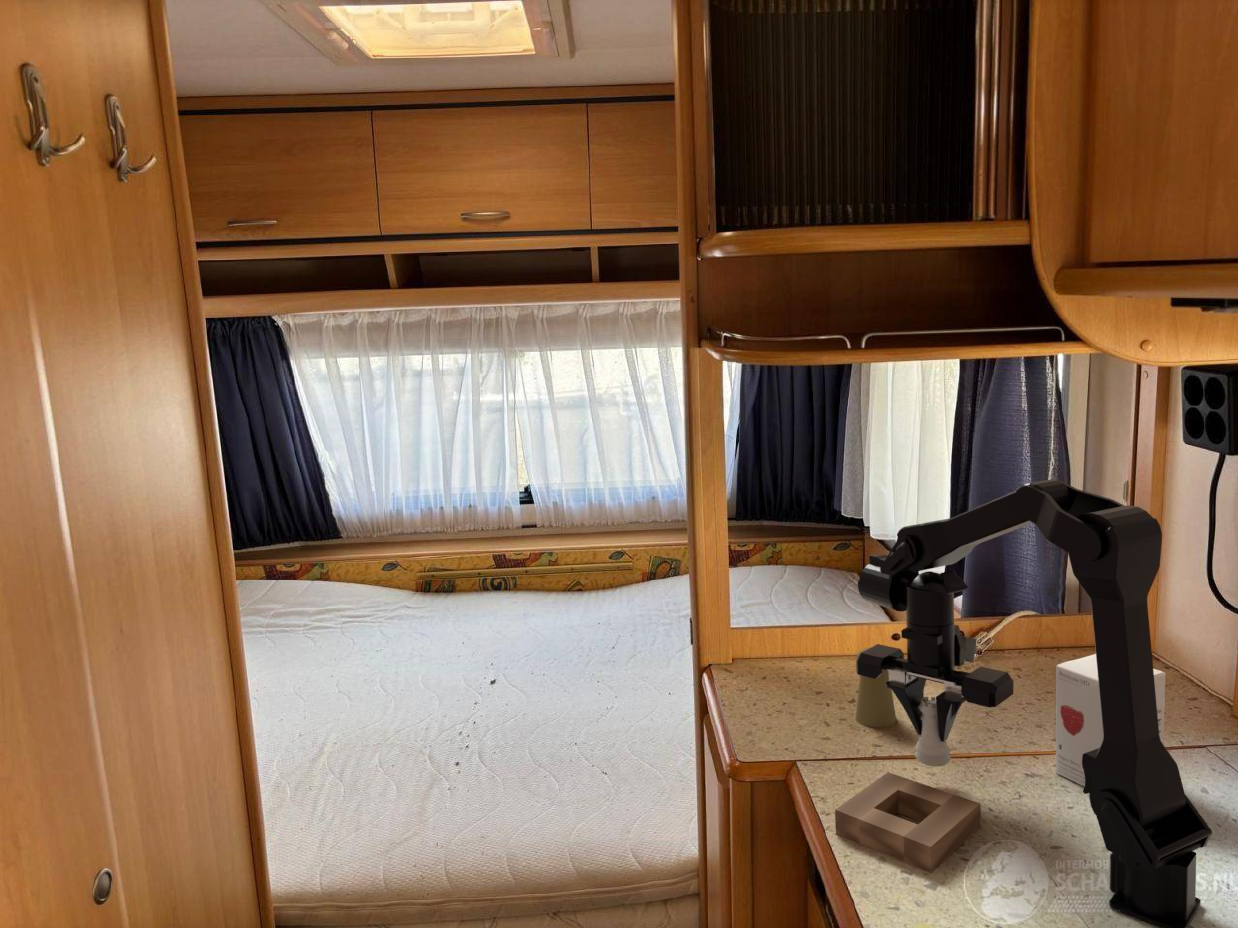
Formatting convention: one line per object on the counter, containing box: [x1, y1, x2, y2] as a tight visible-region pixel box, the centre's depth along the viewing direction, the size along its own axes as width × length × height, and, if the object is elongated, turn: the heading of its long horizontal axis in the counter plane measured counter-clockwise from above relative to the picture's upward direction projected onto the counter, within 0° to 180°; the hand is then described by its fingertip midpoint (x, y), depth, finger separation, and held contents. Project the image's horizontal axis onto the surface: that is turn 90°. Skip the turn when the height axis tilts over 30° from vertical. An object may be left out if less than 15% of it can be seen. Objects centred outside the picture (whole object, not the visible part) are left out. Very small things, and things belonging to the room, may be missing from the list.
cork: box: [855, 646, 897, 728], centre depth 134 cm, size 6×6×11 cm
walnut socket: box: [834, 771, 982, 873], centre depth 104 cm, size 12×12×3 cm
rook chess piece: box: [914, 696, 952, 767], centre depth 113 cm, size 4×4×8 cm
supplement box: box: [1055, 653, 1167, 788], centre depth 112 cm, size 9×9×15 cm
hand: (932, 737), depth 113 cm, fingers closed on rook chess piece, 3 cm apart
